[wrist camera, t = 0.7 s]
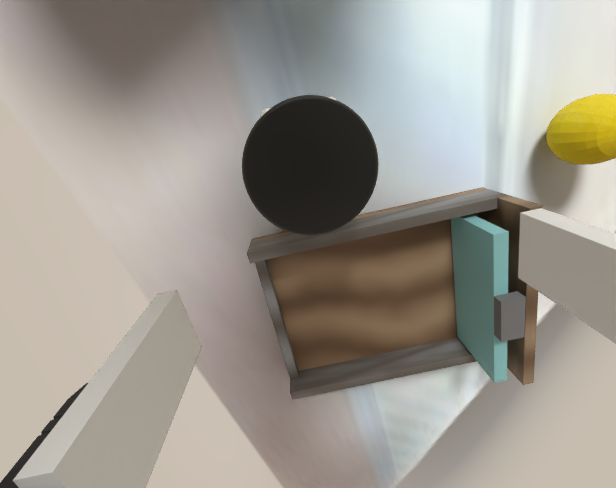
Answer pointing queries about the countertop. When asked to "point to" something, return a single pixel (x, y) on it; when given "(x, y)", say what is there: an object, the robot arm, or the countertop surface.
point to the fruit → (585, 130)
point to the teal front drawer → (383, 293)
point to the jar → (310, 164)
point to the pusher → (485, 293)
